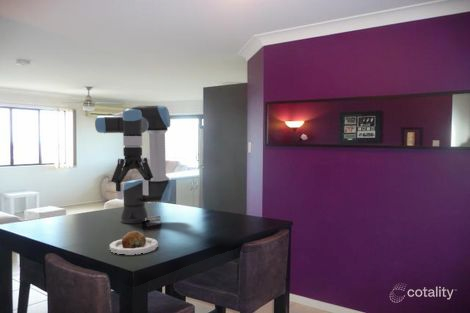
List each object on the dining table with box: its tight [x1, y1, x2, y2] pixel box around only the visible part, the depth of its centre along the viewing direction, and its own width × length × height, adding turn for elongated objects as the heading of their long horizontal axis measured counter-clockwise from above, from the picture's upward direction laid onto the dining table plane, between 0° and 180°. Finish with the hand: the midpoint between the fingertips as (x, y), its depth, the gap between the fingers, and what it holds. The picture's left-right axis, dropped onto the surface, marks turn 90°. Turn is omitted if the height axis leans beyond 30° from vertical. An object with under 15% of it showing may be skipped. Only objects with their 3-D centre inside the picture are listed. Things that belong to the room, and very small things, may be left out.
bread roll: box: [121, 230, 146, 249], centre depth 155 cm, size 10×10×8 cm
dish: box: [109, 236, 159, 256], centre depth 155 cm, size 19×19×2 cm
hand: (133, 197), depth 154 cm, fingers open, 13 cm apart
